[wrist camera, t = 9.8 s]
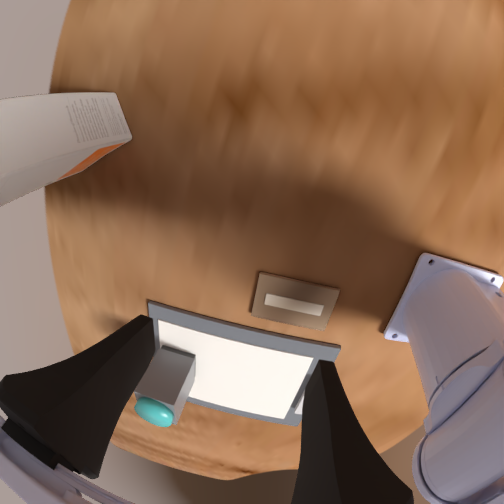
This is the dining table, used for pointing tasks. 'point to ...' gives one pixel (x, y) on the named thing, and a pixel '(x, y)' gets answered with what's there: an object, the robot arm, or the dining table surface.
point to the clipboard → (242, 364)
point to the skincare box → (55, 137)
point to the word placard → (294, 301)
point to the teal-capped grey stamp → (165, 386)
